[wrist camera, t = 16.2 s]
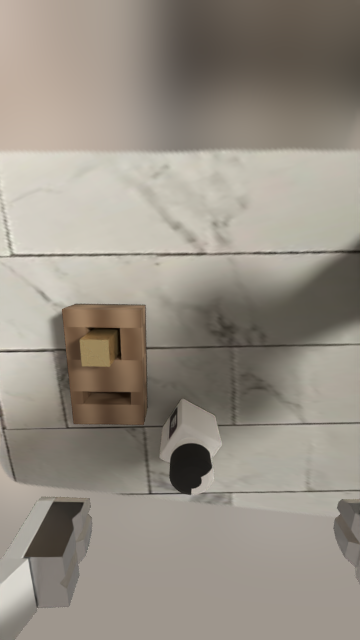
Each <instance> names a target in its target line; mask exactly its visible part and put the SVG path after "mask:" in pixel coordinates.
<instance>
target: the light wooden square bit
mask: <svg viewBox="0 0 360 640" xmlns="http://www.w3.org/2000/svg"><path fill="white" fill-rule="evenodd" d="M80 350H81V362H82V366H98V367H110V366H111V364H112V363H113V361H114V360H115V359H116V357H117V356H118V354H119V353H120V351H121V337H120V328H104V327H96V328H94V329H93V330H92V331H90V332H89V333H88V334H86V335H85V336H84V337H82V338H81V339H80Z"/></svg>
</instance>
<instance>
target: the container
mask: <svg viewBox="0 0 360 640" xmlns="http://www.w3.org/2000/svg"><path fill="white" fill-rule="evenodd" d="M221 446H222V442H221V438H220V434H219V430H218V425H217V421H216V417H215V415H213V414H211V413H209V412H207V411H205V410H203V409H202V408H200V407H198V406H196V405H194V404H192V403H190V402H188V401H187V400H185V399H181V400H180V402H179V403H178V405H177V406H176V408H175V409H174V411H173V412H172V414H171V415H170V417H169V418H168V420H167V421H166V423H165V424H164V426H163V428H162V437H161V446H160V456H159V457H160V459H162V460H164V461H166V462H168V463H170V475H169V476H170V481H171V483H172V485H173V486H174V487H175V488H176V489H177V490H178V491H180V492H181V493H184V494H188V495H195V494H200V493H202V492H204V491H206V490H207V489H208V488H209V487H210V486H211V484H212V483H213V480H214V468H213V462H212V458H213V456H214V455H215V454H216V452H217V451H218V450H219V448H220V447H221Z"/></svg>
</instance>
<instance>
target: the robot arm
mask: <svg viewBox="0 0 360 640" xmlns="http://www.w3.org/2000/svg"><path fill="white" fill-rule="evenodd" d="M90 507H91V505H90V499H89V498H69V497H41V498H40V499H39V500H38V501H37V502H36V504H35V505H34V507H33V508H32V510H31V512H30V513H29V515H28V517H27V518H26V520H25V522H24V523H23V525H22V527H21V528H20V530H19V531H18V533H17V535H16V536H15V538H14V540H13V541H12V543H11V545H10V546H9V548H8V550H7V551H6V553H5V554H4V556H3V558H0V640H15V639H16V637H17V636H18V635H19V633H20V632H21V631H22V630H23V628H24V627H25V626H26V624H27V623H28V622H29V621H30V619H31V618H32V617H33V615H34V614H35V613H36V611H37V608H53V607H69V606H70V603H71V600H72V597H73V593H74V590H75V587H76V584H77V581H78V578H79V566H78V564H79V563H80V562H81V561H82V559H83V558H84V557H85V556H86V553H87V550H88V546H89V542H90V538H91V532H92V517H91V516H90V515H89V514H88V513H89V510H90ZM337 509H338V510H339V512H340V515H339V516H338V517H337V518H336V519H335V521H334V532H335V537H336V540H337V543H338V545H339V548H340V549H341V551H342V553H343V555H344V557H345V558H346V559H347V560H348V561H349V562H350V563H351V564H353V565H354V566H355V571H356V578H357V580H358V581H359V583H360V499H342V500H340V501H339V502H338V507H337Z"/></svg>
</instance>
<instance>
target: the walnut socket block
mask: <svg viewBox="0 0 360 640" xmlns="http://www.w3.org/2000/svg"><path fill="white" fill-rule="evenodd" d="M62 315H63V325H64V335H65V345H66V354H67V364H68V374H69V384H70V393H71V403H72V413H73V423H74V424H123V425H144V421H145V417H146V412H147V408H148V404H147V352H146V305H127V304H74V305H71V306H69V307H66V308H64V309H62ZM96 327H104V328H120V337H121V351H120V353H119V354H118V356H117V357H116V359H115V360H114V361H113V363H112V364H111V366H110V367H98V366H82V362H81V350H80V339H81V338H82V337H84V336H85V335H86V334H88V333H89V332H90V331H92V330H93V329H94V328H96Z"/></svg>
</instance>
